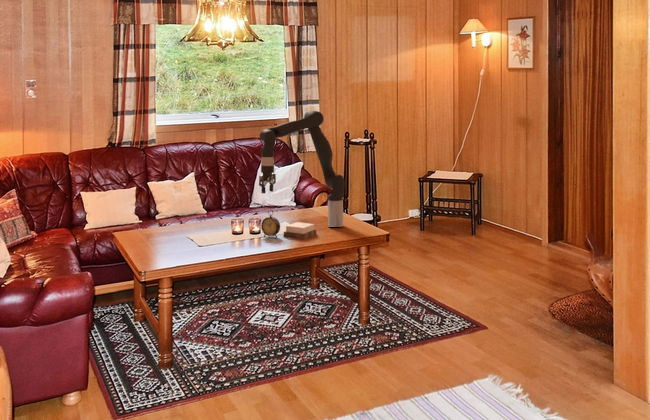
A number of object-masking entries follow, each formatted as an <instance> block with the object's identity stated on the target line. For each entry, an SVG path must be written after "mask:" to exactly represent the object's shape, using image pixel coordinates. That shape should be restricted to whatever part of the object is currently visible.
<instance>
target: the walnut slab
mask: <svg viewBox="0 0 650 420" xmlns="http://www.w3.org/2000/svg"><path fill="white" fill-rule="evenodd" d="M315 234H316V235H317V229H314V230H313V231H310V232H307V233H305V234H300V233H292V232H286V230H285V231H283V237H285V238H289V237H290V238H291V239H297V238H299V240H306V239H309V238H311V237H314V236H316V235H315ZM313 235H314V236H313ZM308 237H309V238H308Z"/></svg>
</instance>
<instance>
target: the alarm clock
mask: <svg viewBox="0 0 650 420" xmlns="http://www.w3.org/2000/svg"><path fill="white" fill-rule="evenodd" d="M269 212H272V214H270V213H269ZM267 214H268V216H269V217H265V218H264V219H263V220H262V222H261V225H260V227H261V231H262V233H263V234H264V235H263V237H266V236H268V237H271V236H273V237H274V236H275V238H278V236H277V234H279V232H280V230H281V224H280V221H279V220H278V218H276V217H275V216H273V215H274V211H273V210H272V209H269V210H267Z"/></svg>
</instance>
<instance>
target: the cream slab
mask: <svg viewBox="0 0 650 420" xmlns="http://www.w3.org/2000/svg"><path fill="white" fill-rule="evenodd" d="M285 228H286V229H285V231H286V232H292V233H300V234H305V233H307V232H310V231H313V230H315V223H308V222H307V223H306V222H300V221H296V222H294V223H291V224H288V225H285Z"/></svg>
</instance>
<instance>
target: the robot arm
mask: <svg viewBox="0 0 650 420" xmlns="http://www.w3.org/2000/svg"><path fill="white" fill-rule="evenodd" d="M324 120H325V119H324V115H323V114H322V113H321V112H320V111H319V110H312V109H310V110H307V111H306V112H305V113H304V114H303V118H300V119H297V120H291V121H287V122H284V123H281V124H278V125H276V126H273V127H269V128H268V127H267V128H265V129H262V131H260V133H259V139H260V140H261V141H262V142H264V144H263V146H262V148H261V159H260V173H261V174H262V175H259V178H258V180H259V181H258V186H259V187H260V188H261V194H266V186H267V184H268V183H269V192H274V185H275V184H276V182H277V181H276V180H277V177H276V173H275V158H274V156H275V155H274V154H275V152H274V149H275V147H276V140H277V138H278V139H279V138H283V137H286V136H289V135H291V134H294V133H296V132H301V131H302V130H306V129H307V131H308V132H309V134H310V138H311V140H312V143H313V147H314V150H315V152H316V156H317V158H318V160H319V164H320V167H321V170H322V174H323V178H324V183H325V184H326V186H327V187H328V188H329V189H331V193H330V194H327V223H328V224H327V227H328V226H329V227H341V226H343V227H344V202H343V201H344V195H345V184H346V183H345V178H344V176H343V175H341V174H338V173H335V170H334V168H333V154H334V153H333V151H332V148H331V147H332V146H331V144H330V142H329V140H328V139H327V137H326V136H325V134H324V132H323V131H322V128H321V127H320V126H321V125H322V124H323V123H324ZM329 227H328V228H329Z"/></svg>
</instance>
